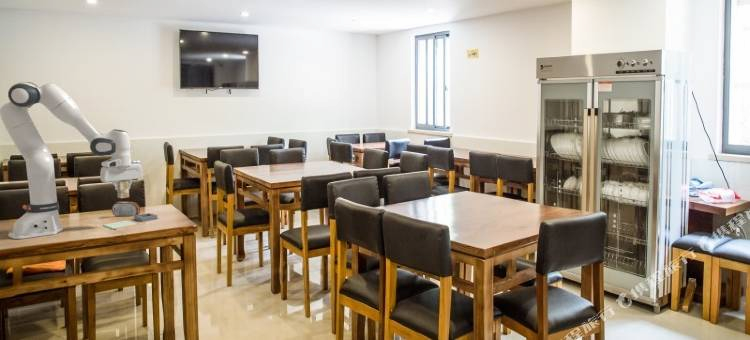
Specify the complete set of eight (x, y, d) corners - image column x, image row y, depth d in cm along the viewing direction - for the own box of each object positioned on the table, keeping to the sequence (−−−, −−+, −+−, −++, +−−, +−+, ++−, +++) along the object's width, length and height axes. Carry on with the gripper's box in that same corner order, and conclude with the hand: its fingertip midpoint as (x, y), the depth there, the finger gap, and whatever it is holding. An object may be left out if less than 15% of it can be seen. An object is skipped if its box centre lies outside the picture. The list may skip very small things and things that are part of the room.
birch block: (121, 198, 274) (120, 182, 273) (117, 197, 277) (116, 181, 276) (129, 197, 277) (128, 181, 276) (125, 196, 280) (124, 180, 279)
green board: (113, 230, 268) (113, 228, 268) (102, 226, 276) (102, 224, 276) (137, 225, 277) (137, 223, 277) (126, 222, 285) (126, 220, 285)
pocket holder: (141, 224, 281) (141, 218, 280) (132, 221, 287) (131, 215, 287) (159, 220, 288) (159, 215, 288) (150, 218, 295) (150, 212, 294)
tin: (140, 216, 299) (139, 201, 298) (137, 218, 296) (136, 202, 294) (114, 216, 300) (113, 201, 299) (111, 217, 297) (110, 202, 296)
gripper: (138, 159, 285) (139, 186, 286) (98, 163, 269) (99, 190, 271) (144, 160, 281) (145, 187, 282) (103, 164, 265) (105, 192, 267)
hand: (122, 189), depth 277 cm, fingers closed on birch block, 4 cm apart
